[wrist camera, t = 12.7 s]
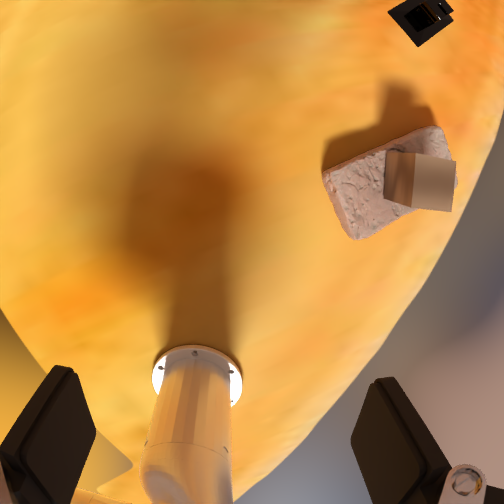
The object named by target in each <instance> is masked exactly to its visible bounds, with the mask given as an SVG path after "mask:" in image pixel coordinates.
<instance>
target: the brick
mask: <svg viewBox="0 0 504 504" xmlns="http://www.w3.org/2000/svg"><path fill="white" fill-rule="evenodd" d="M387 152H395V153H418V154H423V155H428V156H433V157H438V158H443V159H448V160H452V159H451V153H450V151H449V149H448V144H447V141H446V138H445V136H444V133H443V130H442V129H441V127H438V126H435V125H434V126H426V127H425V128H420V129H416V130H414V131H412V132H410V133H408V134H406V135H404V136H402V137H400V138H397V139H394V140H391V141H389V142H388V143H386V144H384V145H382V146H378V147H376V148H374V149H372V150H369V151H367V152H365V153H363V154H360V155H358V156H356V157H354V158H352V159H350V160H347V161H345V162H343V163H340V164H338V165H336V166H335V167H332V168H329V169H327V170H325V171H324V172H323V173H322V180H323V183H324V186H325V188H326V191H327V192H328V195H329V198H330V200H331V202H332V203H333V205H334V209H335V213H336V215H337V217H338V218H339V220H340V222H341V225H342V228H343V229H344V231H345V232H346V233H347V235H348V236H349V237H350V238H352V239H353V240H360V239H363V238H368V237H370V236H371V235H373V234H375V233H376V232H378V231H380V230H381V229H383V228H384V227H386V226H387V225H389V224H390V223H392V222H393V221H395V220H397V219H399V218H400V217H401V216H403V215H406V214H409V213H411V212H413V211H415V210H417V208H410V207H407V206H404V205H401V204H398V203H395V202H392V201H389V200H386V199H383V197H384V186H385V174H386V159H387ZM457 183H458V181H457V176H456V172H455V184H454V189H455V188H456V187H457Z"/></svg>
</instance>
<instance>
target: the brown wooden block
mask: <svg viewBox="0 0 504 504" xmlns="http://www.w3.org/2000/svg"><path fill="white" fill-rule="evenodd" d="M455 172H456V161H452V160H448V159H443V158H438V157H433V156H428V155H423V154H418V153H395V152H387V159H386V174H385V186H384V197H383V199H386V200H389V201H392V202H395V203H398V204H401V205H404V206H407V207H410V208H417V209H427V210H436V211H445V212H451V211H452V203H453V194H454V184H455Z"/></svg>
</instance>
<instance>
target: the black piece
mask: <svg viewBox="0 0 504 504" xmlns="http://www.w3.org/2000/svg"><path fill="white" fill-rule="evenodd" d="M453 11H454V10H453V9H452V8H451V7H450V5H449V4H448V3H447V2H446V1H445V0H406V1H405V2H403V3H401V4H399V5H398V6H396V7H394V8H393V9H391V10H389V11H388V14H389V15H390V16H391V17H392V18H393V19H394V20H395V21H396V22H397V24H398V25H399V26H400V27H401V28H402V29H403V30H404V32H405V33H406V34H407V35H408V36H409V37H410V39H411V40H412V41H413V42H414V43H415V45H416V46H417V47H419V46H421V45H422V44H423V43H425V42H426V41H427V40H429V39H430V38H431V37H433V36H434V35H435V34H437V33H438V32H439V31H441V30H442V29H443V28H445V27H446V26H447V25H449V24H450V23H451V22H453V19H452V17H451V16H450V15H449V14H450V13H452V12H453Z"/></svg>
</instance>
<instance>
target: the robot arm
mask: <svg viewBox="0 0 504 504" xmlns="http://www.w3.org/2000/svg"><path fill="white" fill-rule="evenodd" d="M152 382H153V386H154V389H155V391H156V393H157V394H158V397H157V400H156V404H155V408H154V411H153V415H152V419H151V423H150V426H149V430H148V434H147V438H146V442H145V446H144V450H143V454H142V458H141V462H140V468H139V473H140V480H141V484H142V486H143V489H144V491H145V493H146V494H147V496H148V498H149V499H150V501H151V502H152V504H233V493H232V445H231V406H232V405H234V404H235V403H236V401H237V400H238V399H239V397H240V395H241V392H242V377H241V373H240V371H239V369H238V367H237V365H236V364H235V363H234V362H233V361H232V360H231V359H230V358H229V357H228V356H227V355H225V354H223V353H222V352H220V351H218V350H215V349H213V348H210V347H206V346H201V345H184V346H179V347H175V348H173V349H171V350H168V351H167V352H165V353H164V354H163V355H162V356H161V357H160V358H159V359H158V360H157V362H156V364H155V366H154V369H153V372H152ZM95 436H96V428H95V425H94V422H93V420H92V417H91V414H90V411H89V408H88V405H87V402H86V399H85V396H84V393H83V390H82V387H81V384H80V380H79V377H78V375H77V373H74V371H73V369H72V368H70V367H65V366H60V365H55V366H54V367H53V368H52V369H51V371H50V372H49V373H48V375H47V376H46V378H45V379H44V380H43V382H42V383H41V385H40V386H39V388H38V389H37V390H36V392H35V393H34V395H33V396H32V398H31V399H30V401H29V402H28V404H27V405H26V406H25V408H24V409H23V411H22V413H21V414H20V415H19V417H18V418H17V420H16V422H15V423H14V425H13V426H12V428H11V429H10V431H9V433H8V434H7V436H6V437H5V439H4V441H3V442H2V444H1V445H0V504H131V503H128V502H124V501H120V500H117V499H113V498H110V497H106V496H103V495H100V494H97V493H94V492H90V491H87V490H84V489H80V488H76V486H77V484H78V481H79V478H80V476H81V473H82V470H83V467H84V465H85V462H86V460H87V457H88V455H89V452H90V449H91V447H92V444H93V442H94V439H95ZM351 446H352V449H353V451H354V454H355V457H356V459H357V462H358V465H359V467H360V470H361V473H362V476H363V478H364V481H365V483H366V486H367V489H368V492H369V495H370V497H371V500H372V503H373V504H504V489H500V488H496V487H492V486H488V485H486V479H485V475H484V474H483V473H482V471H481V470H480V469H478V468H477V467H475V466H472V465H468V464H462V465H458V466H456V467H454V468H452V467H451V465H450V464H449V462H448V460H447V459H446V457H445V455H444V454H443V452H442V451H441V449H440V447H439V446H438V444H437V443H436V441H435V439H434V438H433V436H432V434H431V433H430V431H429V430H428V428H427V426H426V425H425V423H424V422H423V420H422V419H421V417H420V415H419V414H418V413H417V411H416V409H415V408H414V406H413V405H412V403H411V402H410V400H409V399H408V397H407V396H406V394H405V392H404V391H403V389H402V388H401V386H400V385H399V383H398V382H397V380H396V379H395V378H394V377H385V378H378V379H376V380H375V381H374V383H372V384H370V386H369V389H368V392H367V395H366V398H365V401H364V404H363V406H362V409H361V412H360V415H359V418H358V420H357V423H356V426H355V428H354V430H353V433H352V436H351Z"/></svg>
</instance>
